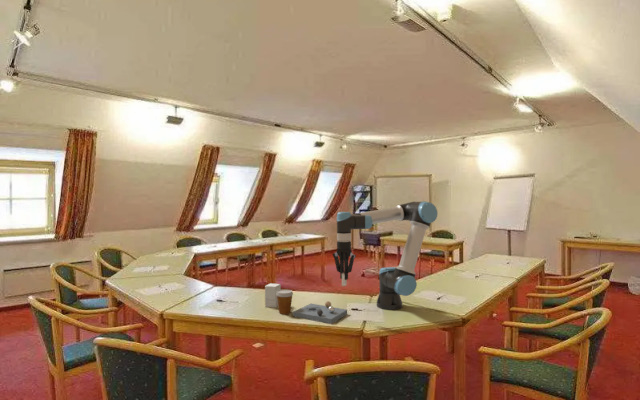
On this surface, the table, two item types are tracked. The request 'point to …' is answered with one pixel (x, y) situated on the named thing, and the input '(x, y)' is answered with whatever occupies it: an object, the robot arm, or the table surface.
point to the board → (311, 314)
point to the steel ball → (331, 309)
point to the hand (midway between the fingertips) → (344, 285)
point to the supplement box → (271, 295)
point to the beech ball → (328, 304)
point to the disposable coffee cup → (284, 301)
